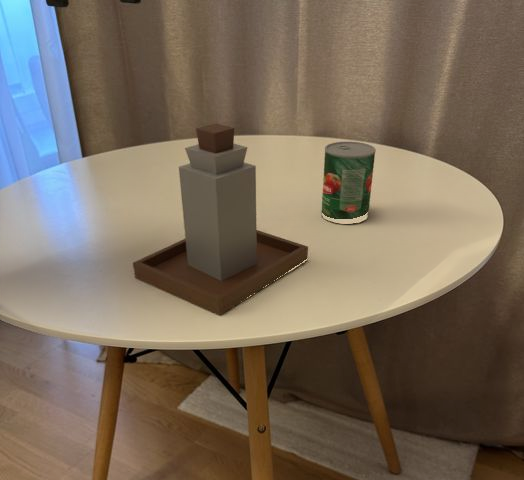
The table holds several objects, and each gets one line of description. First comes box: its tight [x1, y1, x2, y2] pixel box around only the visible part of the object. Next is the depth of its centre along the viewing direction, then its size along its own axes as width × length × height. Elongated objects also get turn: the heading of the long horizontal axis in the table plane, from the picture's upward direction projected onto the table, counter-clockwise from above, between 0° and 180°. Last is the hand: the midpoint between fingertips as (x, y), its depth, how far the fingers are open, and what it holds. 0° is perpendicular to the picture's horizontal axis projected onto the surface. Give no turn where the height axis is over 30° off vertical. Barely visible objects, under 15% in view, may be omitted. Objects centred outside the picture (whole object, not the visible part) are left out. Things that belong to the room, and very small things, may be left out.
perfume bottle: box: [178, 123, 257, 281], centre depth 71 cm, size 7×7×18 cm
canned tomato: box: [321, 141, 377, 219], centre depth 89 cm, size 8×8×11 cm
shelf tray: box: [132, 229, 309, 316], centre depth 76 cm, size 19×16×2 cm
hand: (95, 4), depth 61 cm, fingers open, 9 cm apart
